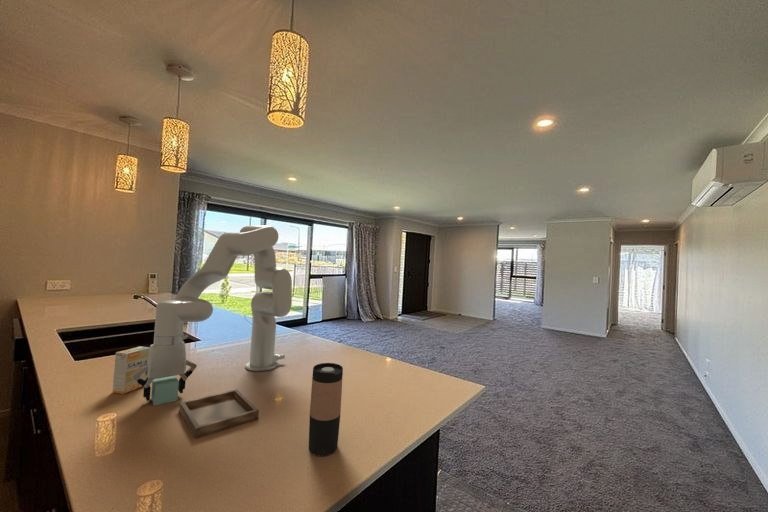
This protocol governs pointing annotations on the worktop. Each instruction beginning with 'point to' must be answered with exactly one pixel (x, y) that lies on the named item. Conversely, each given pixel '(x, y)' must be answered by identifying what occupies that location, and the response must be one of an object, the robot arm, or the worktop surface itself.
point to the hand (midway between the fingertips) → (164, 395)
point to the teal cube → (164, 390)
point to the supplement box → (129, 369)
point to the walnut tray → (217, 412)
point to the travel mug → (325, 408)
